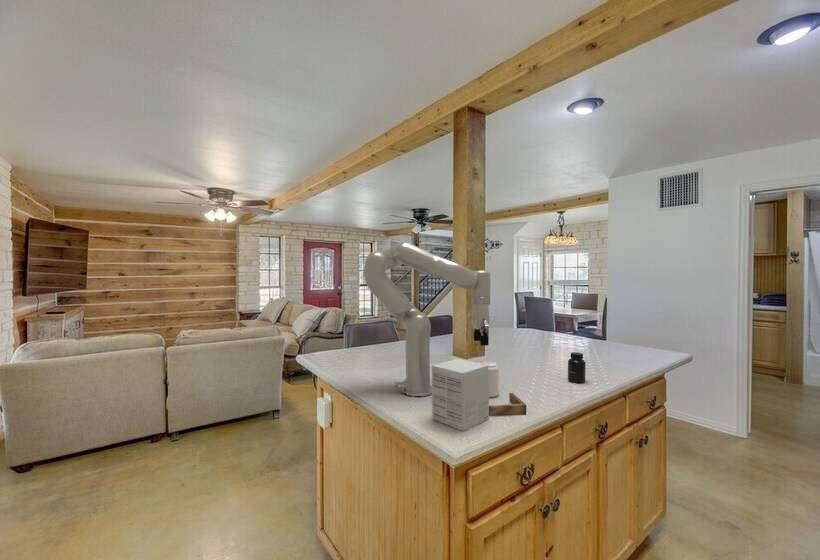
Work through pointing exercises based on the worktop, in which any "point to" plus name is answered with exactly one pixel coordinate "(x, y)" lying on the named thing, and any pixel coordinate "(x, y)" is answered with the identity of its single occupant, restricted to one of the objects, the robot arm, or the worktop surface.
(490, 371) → the white lidded jar
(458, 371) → the supplement box
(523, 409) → the bay
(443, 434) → the worktop surface
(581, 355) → the supplement bottle
